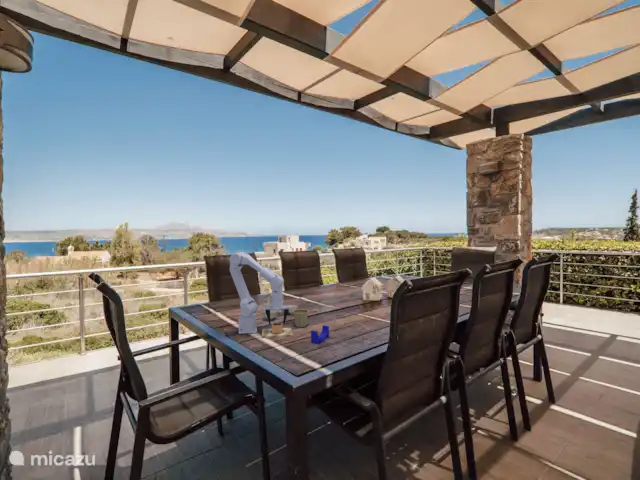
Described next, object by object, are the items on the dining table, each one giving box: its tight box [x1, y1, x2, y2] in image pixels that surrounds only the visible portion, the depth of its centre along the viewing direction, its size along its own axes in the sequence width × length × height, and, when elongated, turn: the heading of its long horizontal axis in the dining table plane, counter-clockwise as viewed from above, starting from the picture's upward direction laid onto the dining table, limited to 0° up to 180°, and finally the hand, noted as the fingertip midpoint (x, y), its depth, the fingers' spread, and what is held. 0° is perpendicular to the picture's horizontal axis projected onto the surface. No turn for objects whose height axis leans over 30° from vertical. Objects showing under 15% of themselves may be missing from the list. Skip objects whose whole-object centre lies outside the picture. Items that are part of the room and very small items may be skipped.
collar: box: [271, 322, 284, 333], centre depth 177 cm, size 6×6×4 cm
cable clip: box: [310, 324, 330, 345], centre depth 168 cm, size 12×4×6 cm, turn 146°
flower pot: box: [293, 308, 310, 328], centre depth 191 cm, size 9×9×9 cm
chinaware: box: [261, 293, 299, 321], centre depth 212 cm, size 28×17×17 cm, turn 142°
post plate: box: [261, 322, 294, 339], centre depth 178 cm, size 16×12×6 cm
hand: (277, 323), depth 177 cm, fingers open, 7 cm apart
